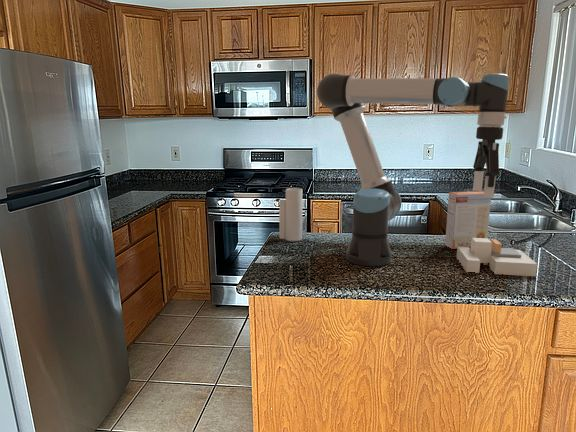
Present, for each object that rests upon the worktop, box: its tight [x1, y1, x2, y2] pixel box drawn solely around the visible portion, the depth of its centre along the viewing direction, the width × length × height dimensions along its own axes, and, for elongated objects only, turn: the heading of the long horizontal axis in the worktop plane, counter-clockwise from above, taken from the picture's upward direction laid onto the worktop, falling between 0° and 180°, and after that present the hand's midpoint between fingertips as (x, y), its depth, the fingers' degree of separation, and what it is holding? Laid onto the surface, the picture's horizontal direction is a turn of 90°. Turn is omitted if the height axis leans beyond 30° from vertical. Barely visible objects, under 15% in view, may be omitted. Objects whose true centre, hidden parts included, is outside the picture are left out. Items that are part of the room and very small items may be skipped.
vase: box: [278, 187, 303, 242], centre depth 172 cm, size 11×7×20 cm, turn 40°
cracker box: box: [444, 190, 492, 250], centre depth 160 cm, size 14×6×21 cm, turn 100°
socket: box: [456, 247, 538, 277], centre depth 140 cm, size 20×15×4 cm
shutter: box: [490, 238, 521, 257], centre depth 141 cm, size 8×8×4 cm
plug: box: [470, 237, 492, 266], centre depth 142 cm, size 5×5×8 cm
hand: (482, 194), depth 139 cm, fingers open, 13 cm apart
